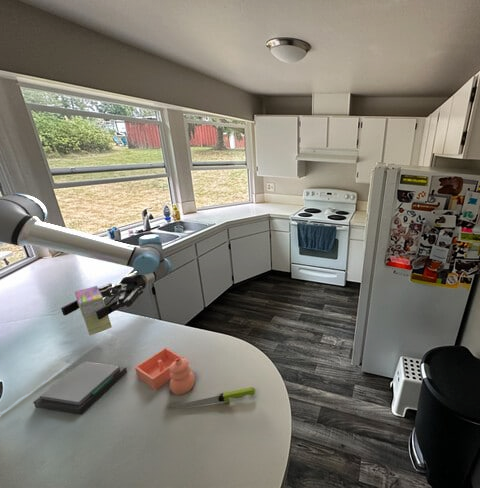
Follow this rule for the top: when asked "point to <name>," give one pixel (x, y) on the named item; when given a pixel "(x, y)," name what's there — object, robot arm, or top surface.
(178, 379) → the pottery
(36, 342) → the top surface
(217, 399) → the kitchen knife
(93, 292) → the box
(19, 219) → the robot arm
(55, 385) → the scale
